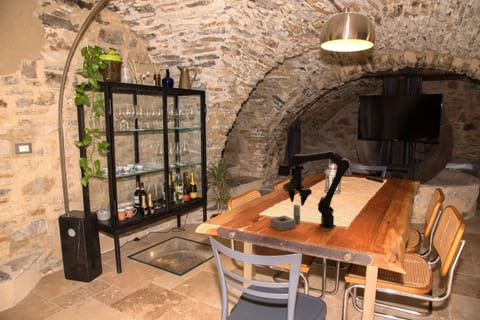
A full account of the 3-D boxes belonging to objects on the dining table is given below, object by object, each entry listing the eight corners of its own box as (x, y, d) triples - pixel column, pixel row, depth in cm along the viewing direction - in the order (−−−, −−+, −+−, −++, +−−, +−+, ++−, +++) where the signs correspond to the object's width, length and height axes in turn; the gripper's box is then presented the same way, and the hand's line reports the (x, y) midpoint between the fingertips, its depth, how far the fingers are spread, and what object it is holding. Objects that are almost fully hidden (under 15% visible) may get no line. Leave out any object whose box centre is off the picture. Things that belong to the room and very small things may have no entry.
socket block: (295, 227, 176) (295, 220, 176) (280, 230, 172) (280, 223, 171) (284, 222, 185) (284, 215, 185) (270, 225, 181) (270, 218, 180)
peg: (301, 222, 183) (301, 205, 182) (296, 223, 182) (296, 206, 180) (297, 220, 187) (297, 204, 185) (292, 222, 185) (292, 205, 183)
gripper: (275, 175, 185) (275, 202, 187) (295, 181, 168) (295, 210, 171) (291, 173, 190) (291, 199, 192) (312, 179, 173) (312, 207, 176)
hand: (297, 203), depth 183 cm, fingers open, 9 cm apart
